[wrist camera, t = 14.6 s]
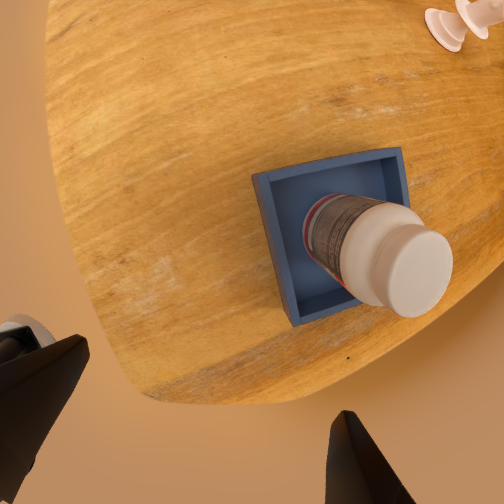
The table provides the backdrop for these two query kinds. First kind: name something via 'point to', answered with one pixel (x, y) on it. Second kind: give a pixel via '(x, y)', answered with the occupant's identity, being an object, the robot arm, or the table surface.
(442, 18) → the candle
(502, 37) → the table surface
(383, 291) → the pill bottle
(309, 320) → the tray
